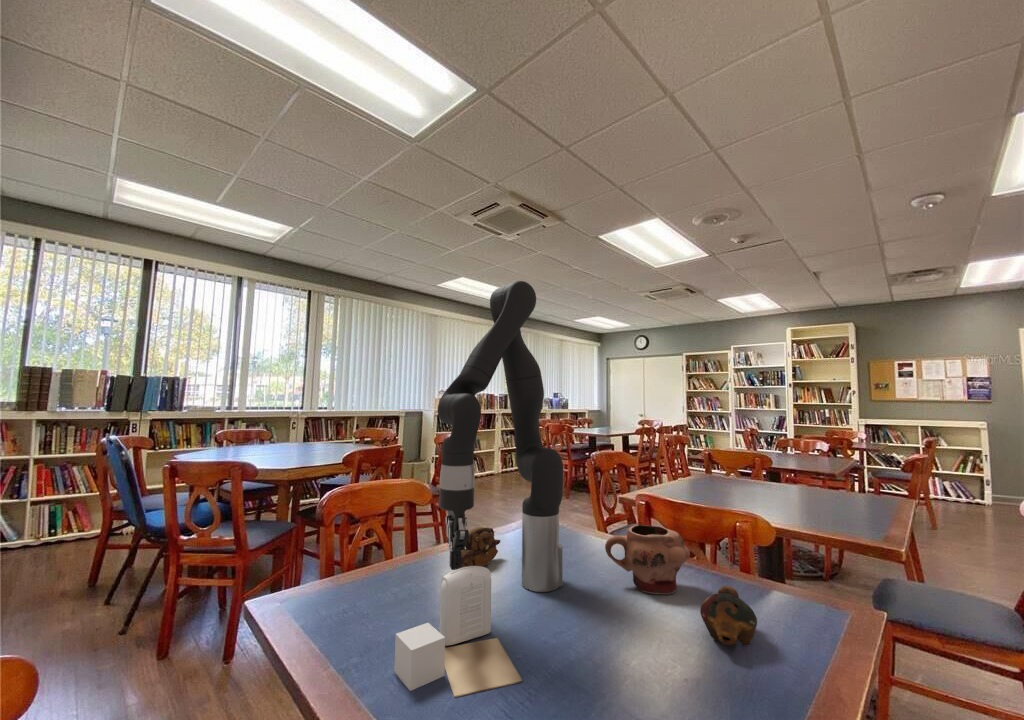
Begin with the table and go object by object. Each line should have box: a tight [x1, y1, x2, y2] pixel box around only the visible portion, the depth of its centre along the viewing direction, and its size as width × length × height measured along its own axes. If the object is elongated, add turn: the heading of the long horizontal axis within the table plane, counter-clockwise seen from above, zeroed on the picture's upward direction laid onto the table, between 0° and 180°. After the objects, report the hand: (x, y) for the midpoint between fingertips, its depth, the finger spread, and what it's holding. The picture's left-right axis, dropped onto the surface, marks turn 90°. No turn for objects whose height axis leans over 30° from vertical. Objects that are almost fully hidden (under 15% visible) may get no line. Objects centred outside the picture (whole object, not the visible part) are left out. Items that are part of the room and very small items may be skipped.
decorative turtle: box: [699, 585, 758, 647], centre depth 80 cm, size 10×15×8 cm, turn 156°
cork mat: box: [444, 637, 523, 698], centre depth 71 cm, size 11×13×1 cm
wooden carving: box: [461, 526, 501, 568], centre depth 115 cm, size 16×5×10 cm, turn 148°
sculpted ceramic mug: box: [604, 524, 691, 595], centre depth 103 cm, size 20×12×14 cm, turn 89°
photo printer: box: [438, 566, 492, 647], centre depth 81 cm, size 10×4×12 cm, turn 123°
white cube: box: [393, 622, 446, 692], centre depth 69 cm, size 6×6×6 cm
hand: (455, 568), depth 90 cm, fingers closed
